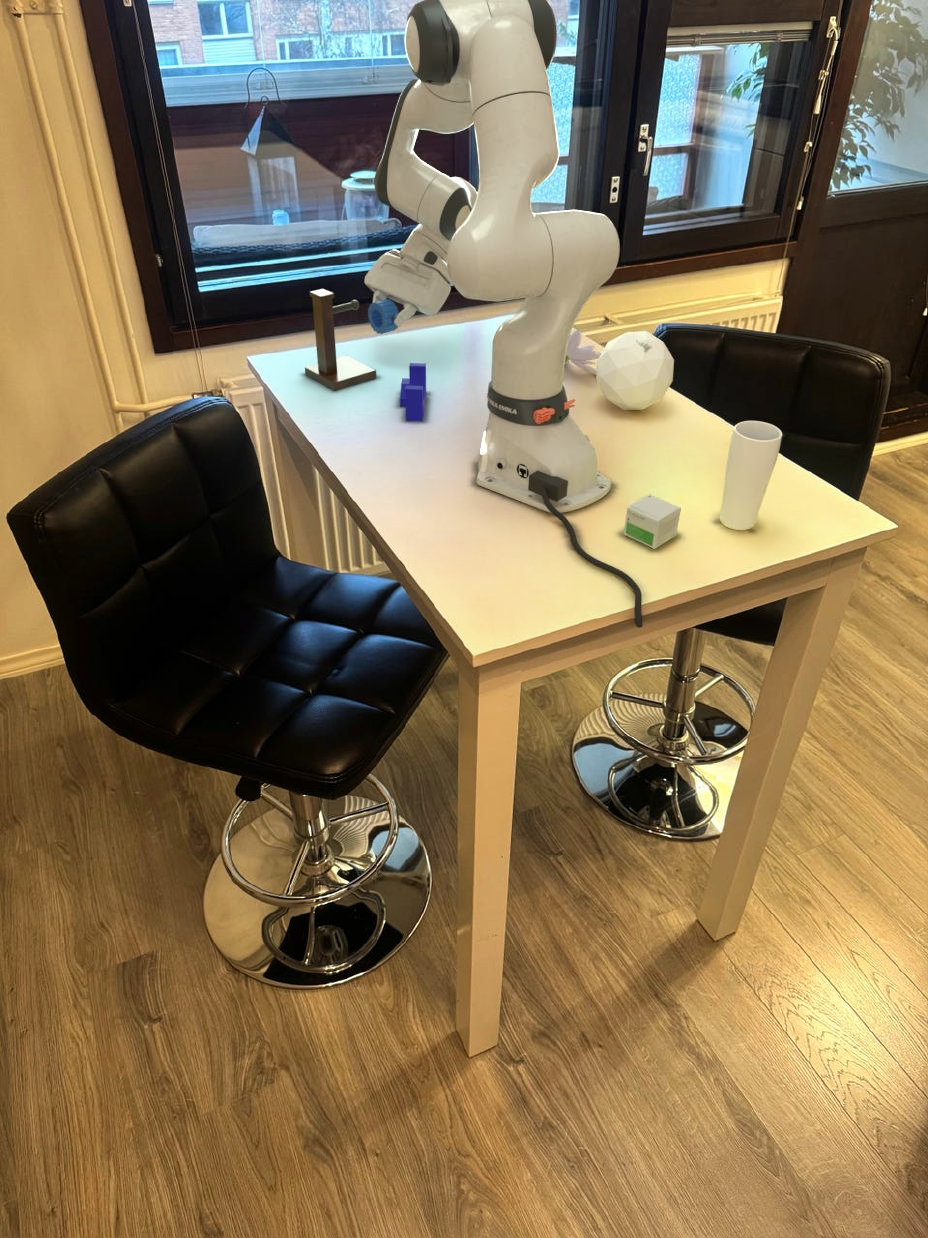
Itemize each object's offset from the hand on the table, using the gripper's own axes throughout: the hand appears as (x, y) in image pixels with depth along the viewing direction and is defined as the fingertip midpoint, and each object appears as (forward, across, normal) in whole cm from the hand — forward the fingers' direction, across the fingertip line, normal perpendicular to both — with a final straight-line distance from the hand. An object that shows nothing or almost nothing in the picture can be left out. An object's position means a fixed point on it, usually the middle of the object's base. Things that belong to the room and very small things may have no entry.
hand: (384, 319), depth 178 cm
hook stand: (+14, 0, -2) cm, 14 cm away
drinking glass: (+4, +83, +8) cm, 84 cm away
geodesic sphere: (-10, +45, +22) cm, 51 cm away
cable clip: (+13, +20, 0) cm, 24 cm away
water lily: (-12, +28, +25) cm, 39 cm away
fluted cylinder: (+2, 0, +2) cm, 2 cm away
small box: (+14, +77, -1) cm, 78 cm away
